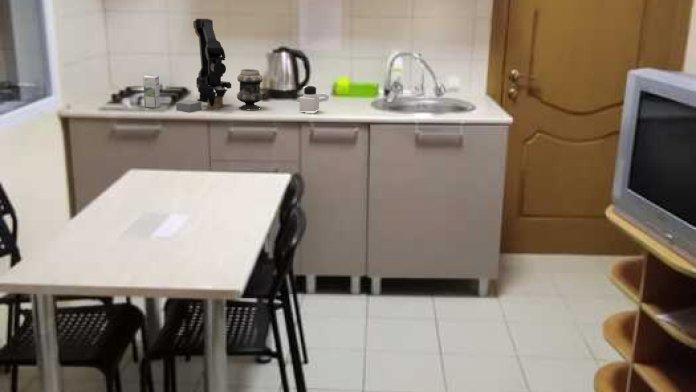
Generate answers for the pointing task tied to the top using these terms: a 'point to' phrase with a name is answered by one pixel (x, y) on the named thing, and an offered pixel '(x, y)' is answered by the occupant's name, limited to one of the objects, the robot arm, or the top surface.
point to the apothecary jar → (249, 88)
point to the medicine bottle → (309, 99)
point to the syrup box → (151, 91)
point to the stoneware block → (188, 106)
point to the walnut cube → (216, 103)
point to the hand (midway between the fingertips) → (215, 105)
